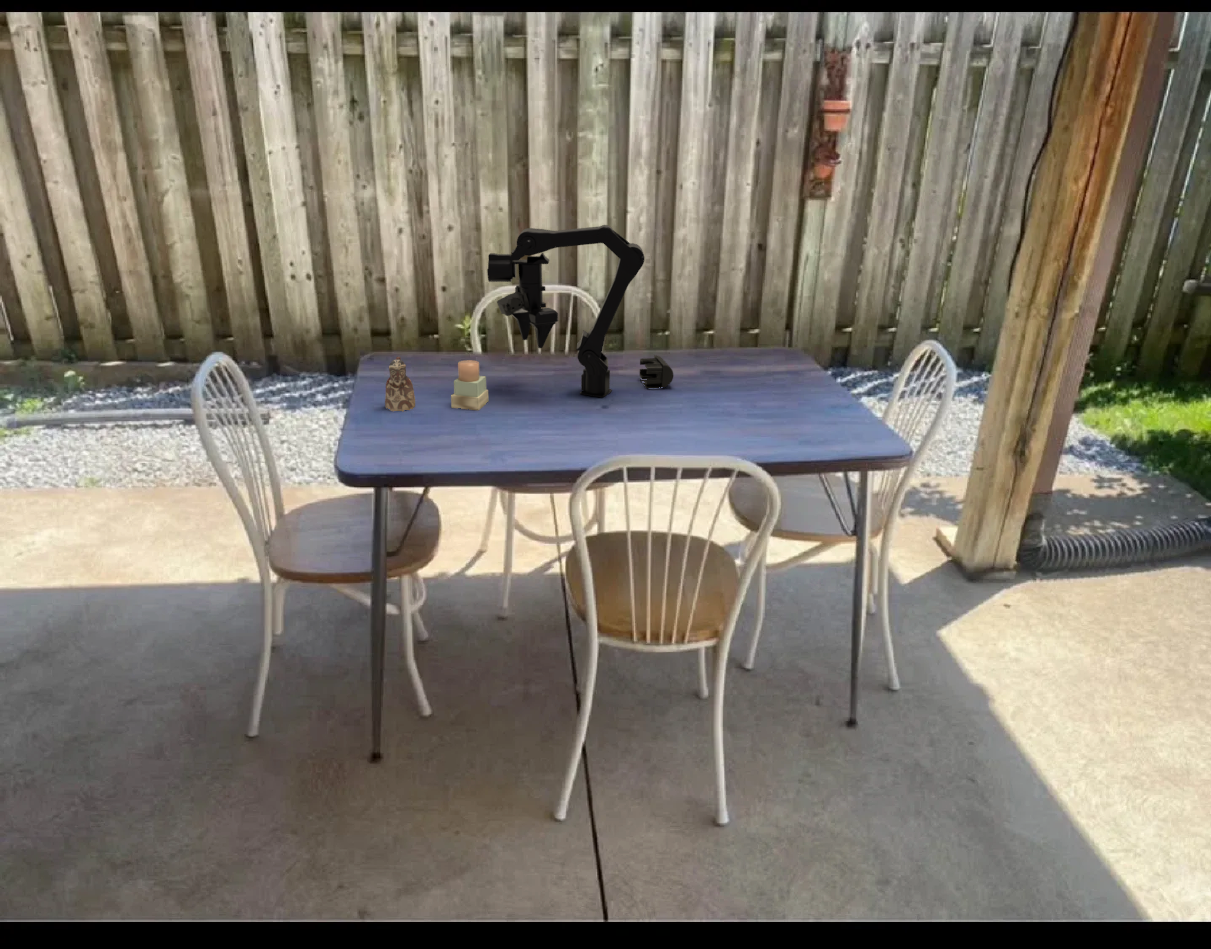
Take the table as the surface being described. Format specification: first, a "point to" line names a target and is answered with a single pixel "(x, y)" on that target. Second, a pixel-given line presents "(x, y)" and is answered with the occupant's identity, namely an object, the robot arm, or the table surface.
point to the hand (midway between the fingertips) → (532, 343)
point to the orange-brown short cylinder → (468, 371)
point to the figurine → (399, 388)
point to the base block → (469, 401)
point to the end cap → (655, 372)
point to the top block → (470, 387)
